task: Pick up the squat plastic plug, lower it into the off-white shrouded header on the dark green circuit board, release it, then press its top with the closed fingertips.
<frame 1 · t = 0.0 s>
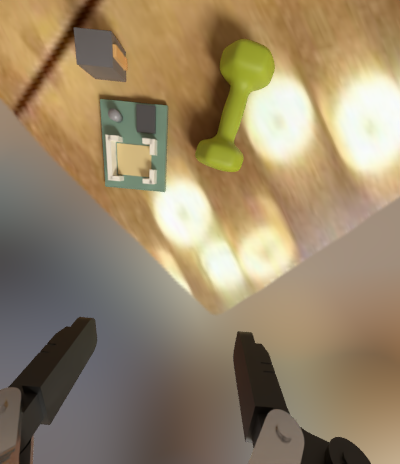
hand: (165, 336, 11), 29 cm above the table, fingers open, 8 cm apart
board: (136, 149, 35), on the table
dumbbell: (229, 120, 34), on the table
plug: (110, 65, 31), on the table
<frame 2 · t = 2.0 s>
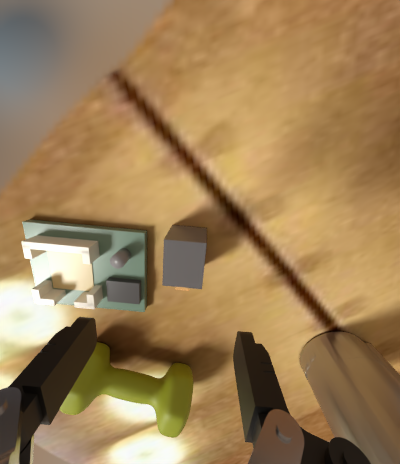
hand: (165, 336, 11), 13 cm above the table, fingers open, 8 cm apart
board: (92, 266, 25), on the table
dumbbell: (140, 359, 30), on the table
plug: (188, 245, 24), on the table
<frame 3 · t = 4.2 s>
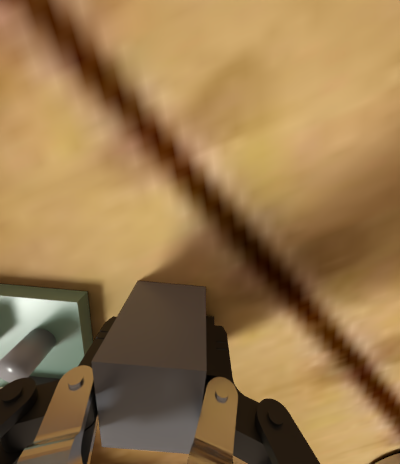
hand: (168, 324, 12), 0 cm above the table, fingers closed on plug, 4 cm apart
plug: (170, 317, 12), on the table, touching gripper
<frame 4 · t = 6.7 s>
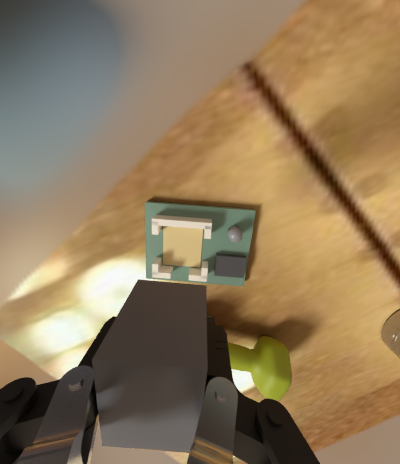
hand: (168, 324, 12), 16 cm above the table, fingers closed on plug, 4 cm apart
board: (197, 244, 27), on the table
dumbbell: (227, 334, 33), on the table
plug: (170, 316, 12), point 15 cm above the table, touching gripper
when the fingers open (3 cm above the table, at t = 9.3 s): plug stays where it is, resting on board.
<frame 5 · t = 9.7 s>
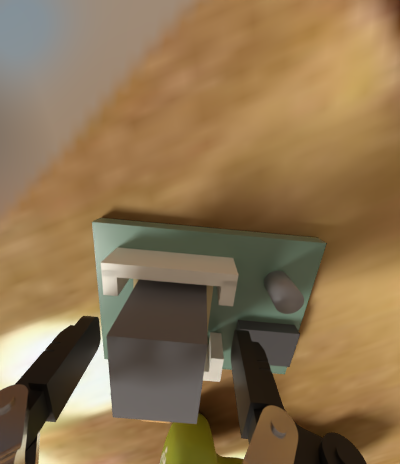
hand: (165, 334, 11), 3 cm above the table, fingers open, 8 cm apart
board: (201, 299, 14), on the table
dumbbell: (247, 431, 20), on the table
plug: (173, 306, 13), point 1 cm above the table, touching board
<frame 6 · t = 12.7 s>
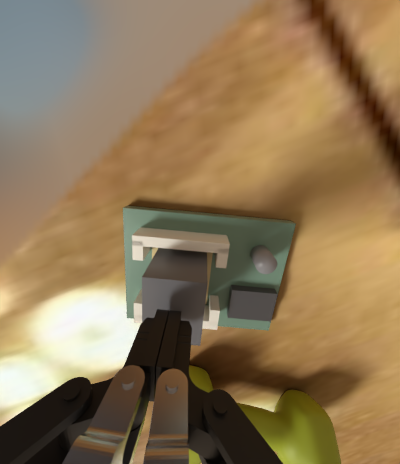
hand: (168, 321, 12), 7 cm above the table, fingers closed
board: (203, 269, 18), on the table
dumbbell: (240, 385, 24), on the table
plug: (181, 273, 17), point 1 cm above the table, touching board
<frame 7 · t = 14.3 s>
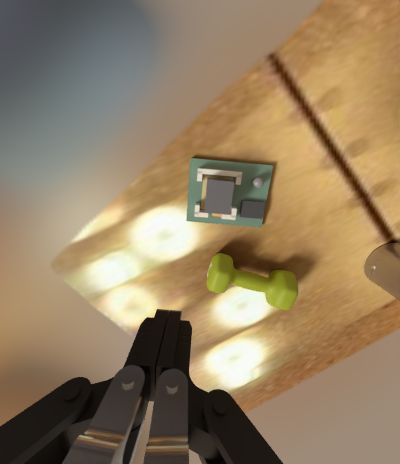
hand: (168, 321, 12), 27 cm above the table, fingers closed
board: (227, 193, 36), on the table
dumbbell: (246, 270, 41), on the table
plug: (217, 193, 35), point 1 cm above the table, touching board
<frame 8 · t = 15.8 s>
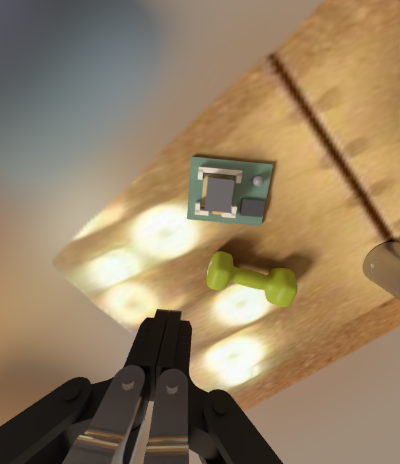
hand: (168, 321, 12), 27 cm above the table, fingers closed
board: (227, 192, 36), on the table
dumbbell: (245, 268, 41), on the table
plug: (217, 191, 35), point 1 cm above the table, touching board
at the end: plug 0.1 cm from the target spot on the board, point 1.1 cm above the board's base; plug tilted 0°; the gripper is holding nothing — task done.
